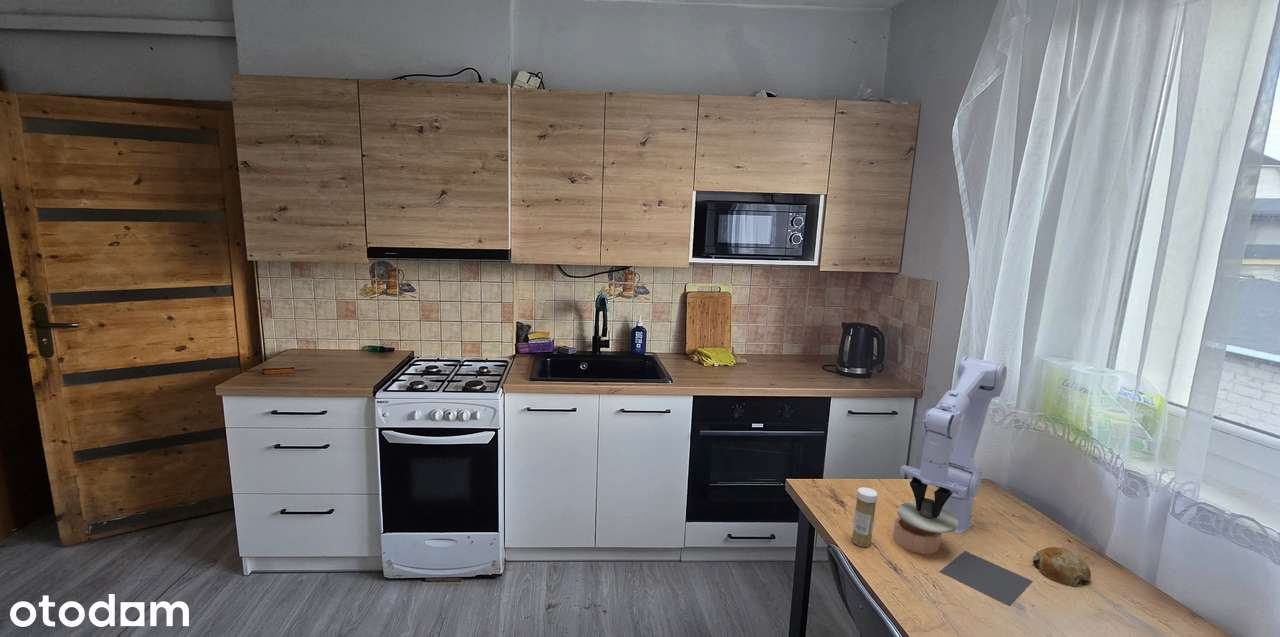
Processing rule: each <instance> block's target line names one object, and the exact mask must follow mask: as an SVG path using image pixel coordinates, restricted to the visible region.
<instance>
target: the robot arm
mask: <svg viewBox="0 0 1280 637" xmlns="http://www.w3.org/2000/svg"><path fill="white" fill-rule="evenodd" d="M1007 369H1008V367H1007V365H1006V364H1005V363H1004V362H997V361H996V362H995V361H992V360H991V361H990V360H985V359H980V358H975V357H969V356H968V355H965V356H963V357H962V358H961V359H960V361H959V363H958V366H957V376H958V381H957V383H956V384H955V387H954V389H950V390H947V391H946V392H945V393H944V394H943V396H941V399H940V400H939V401H938V403H937V404H936V406H935V407H932V408H928V409H927V410H926V411H925V413H924V415H923V420H922V430H923V431H922V432H923V433H922V438H923V439H924V442H923V448H922V455H921V461H920V462H921V463H920V468H916V467H913V466H909V465H902V466H900V472H899V474H900V476H901V475H902V476H907V477H909V478H911V481H909V486H910V488H911V490H912V493H913V496H914V500H915V503H916V510H917V511H920V510H921V502H922V499H923V498H926V493H927V489H928V486H934V487H936V490H934V491H933V493H934V494H933V495H934V501H935V503H934V510H933V517H934V518H937V517H938V516H939V515H940V512H941V510H942V509H943V510H946V511H947V512H949V513H951V514H952V515H953V516H955V517H956V519H957V520H958V528H957V529H956V530H955V531H953V533H956V534H958V535H960V534H962V533H963V532H964V531H966V530H967V529H968V528H970V527H971V526H974V524H975V522H974V521H972V520H971V519H972V513H973V507H974V501H975V500H974V497H976V496H977V495H978V493H979V492H980V488H981V484H982V476H983V470H982V467H981V466H980V465H979V464H978V462H976V461H975V453H976V450H977V447H978V443H979V440H980V436H981V433H982V431H983V426H984V422H985V419H986V415H987V412H988V410H989V406H990V403H991V402H992V399H993V398H997V397H998V398H999V397H1000V396H1001V394H1002V392H1003V390H1004V386H1005V382H1006V379H1007V374H1008V373H1007V372H1008V370H1007ZM956 436H957V438H956V441H955V444H954V446H953V441H954V438H955V437H956ZM952 448H953V450H952ZM957 466H958V467H957Z"/></svg>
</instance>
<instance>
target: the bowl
mask: <svg viewBox="0 0 1280 637" xmlns="http://www.w3.org/2000/svg"><path fill="white" fill-rule="evenodd" d="M892 538H893V539H892V540H893V541H894V542H895V543H897V545H899V546H900V547H902V548H904V549H906V550H908V551H911V552H913V553H918V554H923V555H927V554H929V555H930V554H935V553H937V552H938V551H940V547H941V540H942V533H938V532H931V531H926V530H922V529H919V528H917V527H914V526H912V525H910V524H908V523H906V522H905V521H903V520H902V519H901V518H900V517H899V516H898V517H896V518H894V524H893V532H892Z"/></svg>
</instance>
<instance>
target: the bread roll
mask: <svg viewBox="0 0 1280 637" xmlns="http://www.w3.org/2000/svg"><path fill="white" fill-rule="evenodd" d="M1032 563H1033V564H1035V565H1034V568H1036V569H1037V570H1038V572H1039V573H1040V574H1042V575H1043V576H1045V577H1046V578H1047V579H1049V580H1050V581H1054V582H1056V583H1059V584H1062V585H1065V586H1067V587H1068V586H1069V587H1076V588H1084V586H1085V585H1088V583H1089V582H1090V581H1091V577H1092V573H1091V569H1090V567H1089V565H1088V564H1087V562H1086V561H1085V560H1084V559H1083V558H1082V557H1081V556H1080V554H1079V553H1077V552H1073V551H1072V550H1070V549H1067V548H1064V547H1056V546H1052V547H1051V546H1048V547H1046V548H1045V547H1044V548H1043V549H1040V550H1038V551H1037V552H1036V553H1035V554H1034V555H1033V556H1032Z"/></svg>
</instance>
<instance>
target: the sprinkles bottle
mask: <svg viewBox="0 0 1280 637" xmlns="http://www.w3.org/2000/svg"><path fill="white" fill-rule="evenodd" d="M878 497H879V496H878V492H877V491H876V490H875V489H872V488H869V487H858V489H857V491H856V506H855V510H854V511H855V512H854V517H853V529H852V530H853V531H852V536H851V541H852V542H853V543H854V545H856V546H858V547H861V548H868V547H871V545H872V538H873V533H874V525H875V514H876V505H877V502H878Z"/></svg>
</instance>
